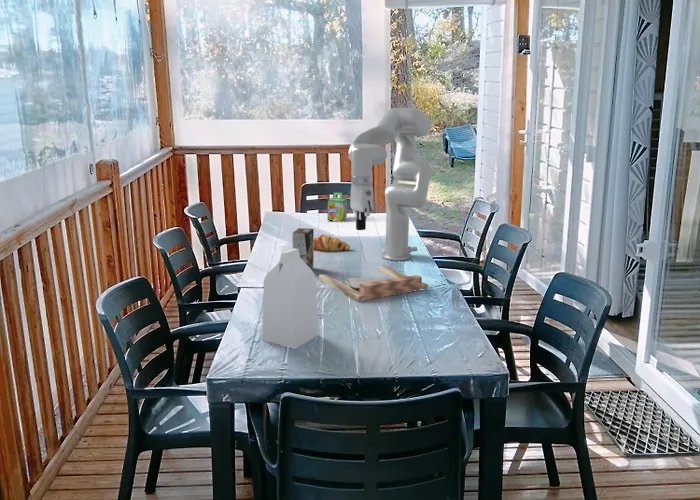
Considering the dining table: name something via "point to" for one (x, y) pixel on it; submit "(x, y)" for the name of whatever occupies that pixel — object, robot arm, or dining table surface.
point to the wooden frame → (378, 285)
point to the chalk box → (337, 208)
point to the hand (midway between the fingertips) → (360, 229)
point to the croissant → (329, 244)
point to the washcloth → (361, 282)
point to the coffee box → (304, 245)
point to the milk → (290, 302)
